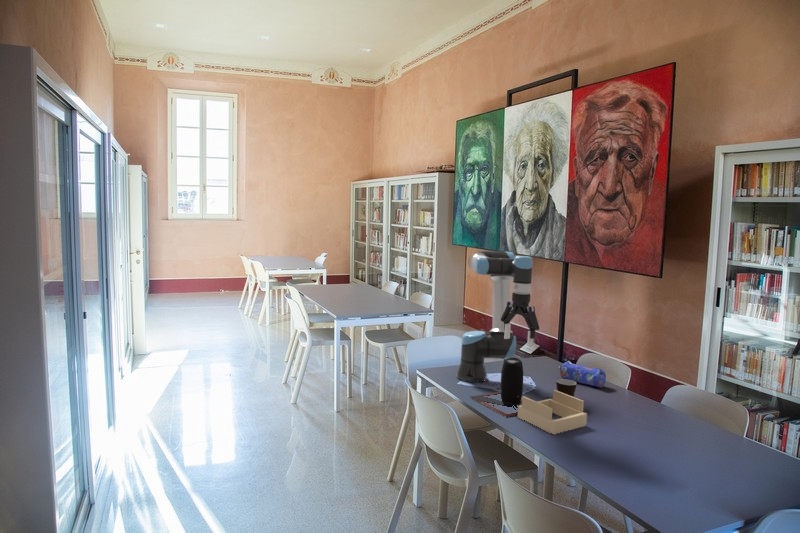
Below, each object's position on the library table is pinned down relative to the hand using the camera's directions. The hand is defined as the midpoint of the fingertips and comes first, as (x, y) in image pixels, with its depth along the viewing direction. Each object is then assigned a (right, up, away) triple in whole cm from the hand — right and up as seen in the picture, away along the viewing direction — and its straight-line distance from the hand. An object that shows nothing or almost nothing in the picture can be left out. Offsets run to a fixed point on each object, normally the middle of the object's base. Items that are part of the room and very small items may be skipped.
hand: (518, 342), depth 231 cm
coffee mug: (+24, -29, +11) cm, 39 cm away
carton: (+11, -30, -12) cm, 34 cm away
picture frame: (-4, -29, +6) cm, 30 cm away
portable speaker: (-2, -28, +4) cm, 28 cm away
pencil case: (+41, -26, +41) cm, 64 cm away
